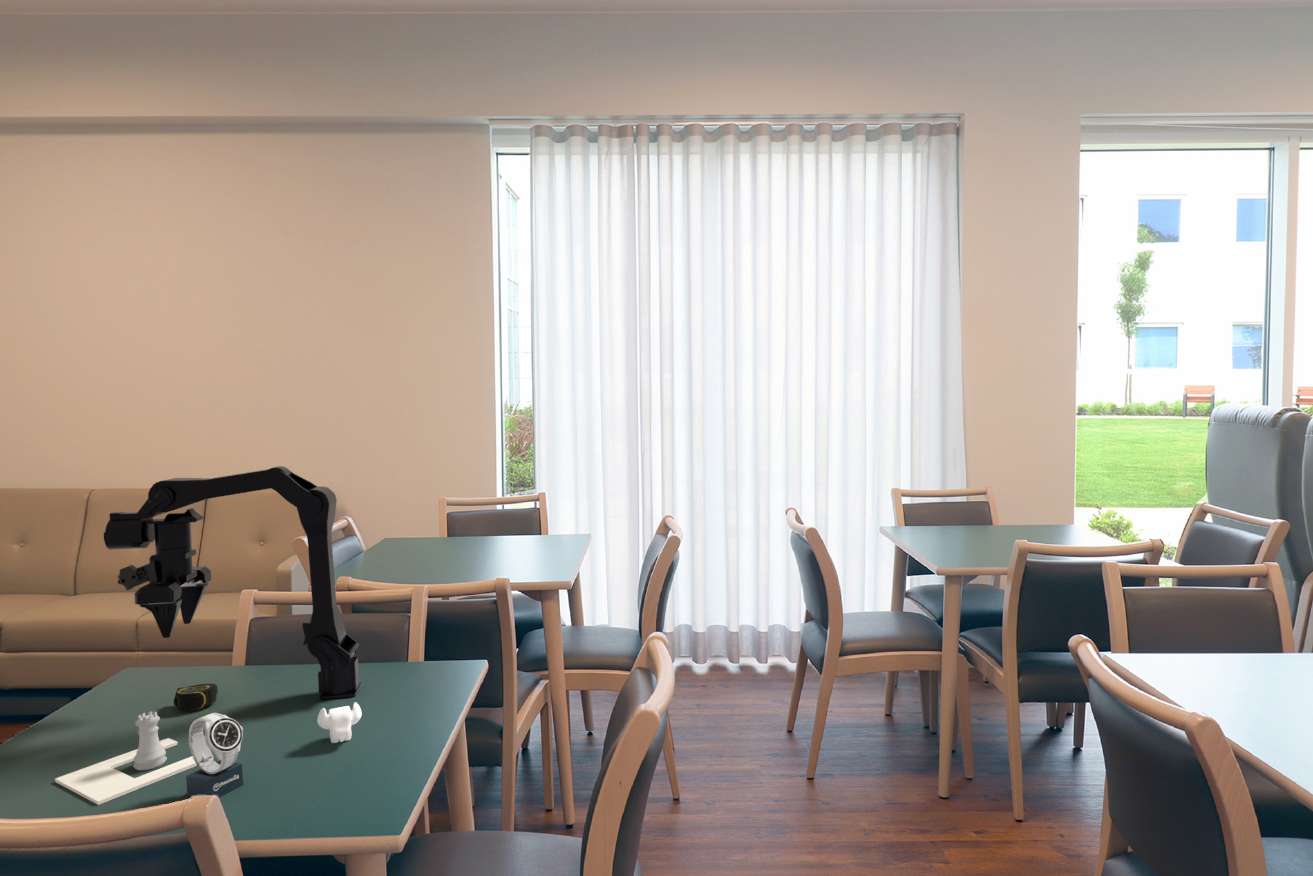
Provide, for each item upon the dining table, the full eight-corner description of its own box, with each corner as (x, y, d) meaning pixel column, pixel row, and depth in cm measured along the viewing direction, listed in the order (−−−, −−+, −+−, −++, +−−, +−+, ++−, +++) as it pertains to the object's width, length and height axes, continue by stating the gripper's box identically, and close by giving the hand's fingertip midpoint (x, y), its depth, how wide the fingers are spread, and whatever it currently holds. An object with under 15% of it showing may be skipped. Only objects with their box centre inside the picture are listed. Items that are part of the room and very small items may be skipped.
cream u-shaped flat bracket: (168, 741, 130) (168, 738, 130) (213, 759, 123) (213, 755, 123) (55, 782, 117) (54, 778, 117) (98, 805, 109) (98, 801, 109)
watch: (217, 805, 108) (212, 727, 108) (179, 795, 111) (174, 719, 111) (253, 787, 113) (248, 712, 113) (215, 777, 117) (211, 705, 116)
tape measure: (219, 698, 150) (217, 679, 150) (215, 710, 144) (213, 690, 144) (177, 705, 147) (176, 685, 147) (171, 717, 141) (170, 697, 141)
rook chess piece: (143, 759, 124) (140, 710, 123) (173, 757, 124) (170, 708, 124) (126, 772, 119) (123, 721, 119) (157, 770, 120) (154, 719, 119)
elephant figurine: (319, 754, 123) (317, 717, 123) (317, 735, 131) (316, 700, 130) (364, 745, 126) (363, 708, 126) (360, 727, 134) (359, 693, 133)
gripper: (148, 540, 151) (151, 620, 152) (98, 558, 133) (103, 649, 134) (210, 537, 153) (213, 616, 154) (170, 555, 135) (174, 644, 136)
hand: (177, 630), depth 144 cm, fingers open, 9 cm apart
